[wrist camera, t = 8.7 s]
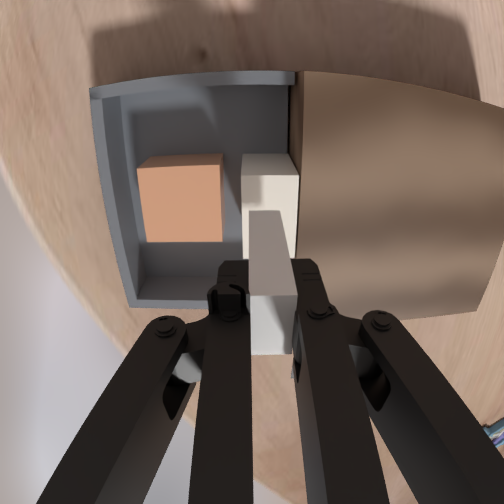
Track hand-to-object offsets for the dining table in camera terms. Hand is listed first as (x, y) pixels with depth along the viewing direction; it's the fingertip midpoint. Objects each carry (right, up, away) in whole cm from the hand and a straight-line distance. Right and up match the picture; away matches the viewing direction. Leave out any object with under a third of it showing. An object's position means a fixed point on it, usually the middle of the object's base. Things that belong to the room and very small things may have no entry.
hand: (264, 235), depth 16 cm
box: (-4, +4, +7) cm, 9 cm away
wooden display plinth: (+10, +4, +7) cm, 13 cm away
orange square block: (-5, +2, +3) cm, 6 cm away
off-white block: (+2, +2, +4) cm, 5 cm away
